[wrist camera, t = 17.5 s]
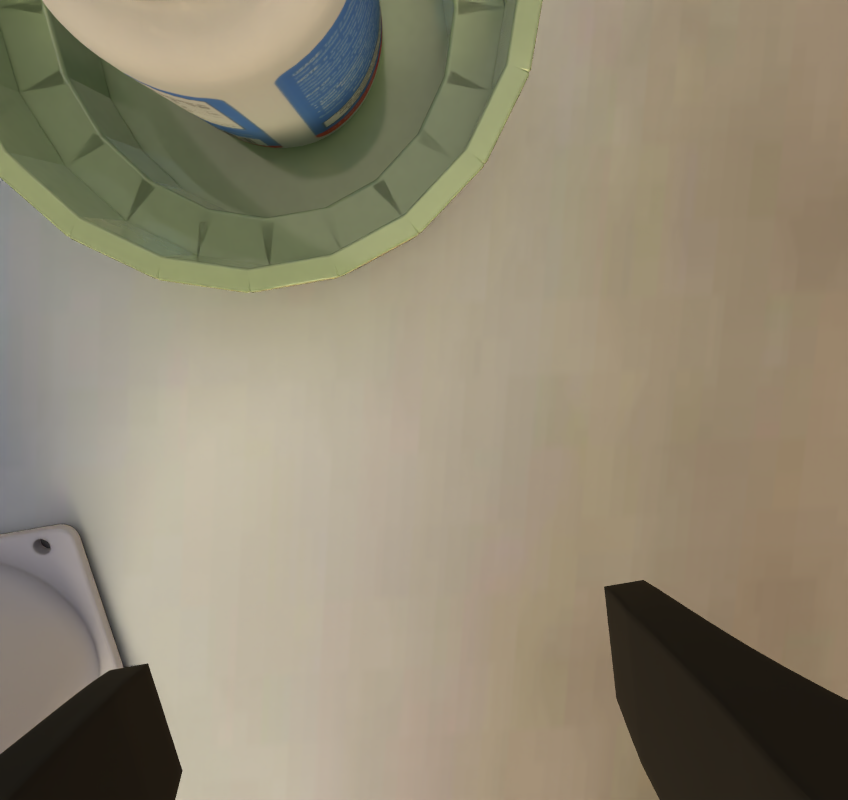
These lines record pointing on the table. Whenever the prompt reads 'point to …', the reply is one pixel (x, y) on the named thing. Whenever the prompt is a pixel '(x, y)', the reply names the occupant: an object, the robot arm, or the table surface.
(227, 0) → the pill bottle
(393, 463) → the table surface
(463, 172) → the green pet bowl
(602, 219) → the table surface
